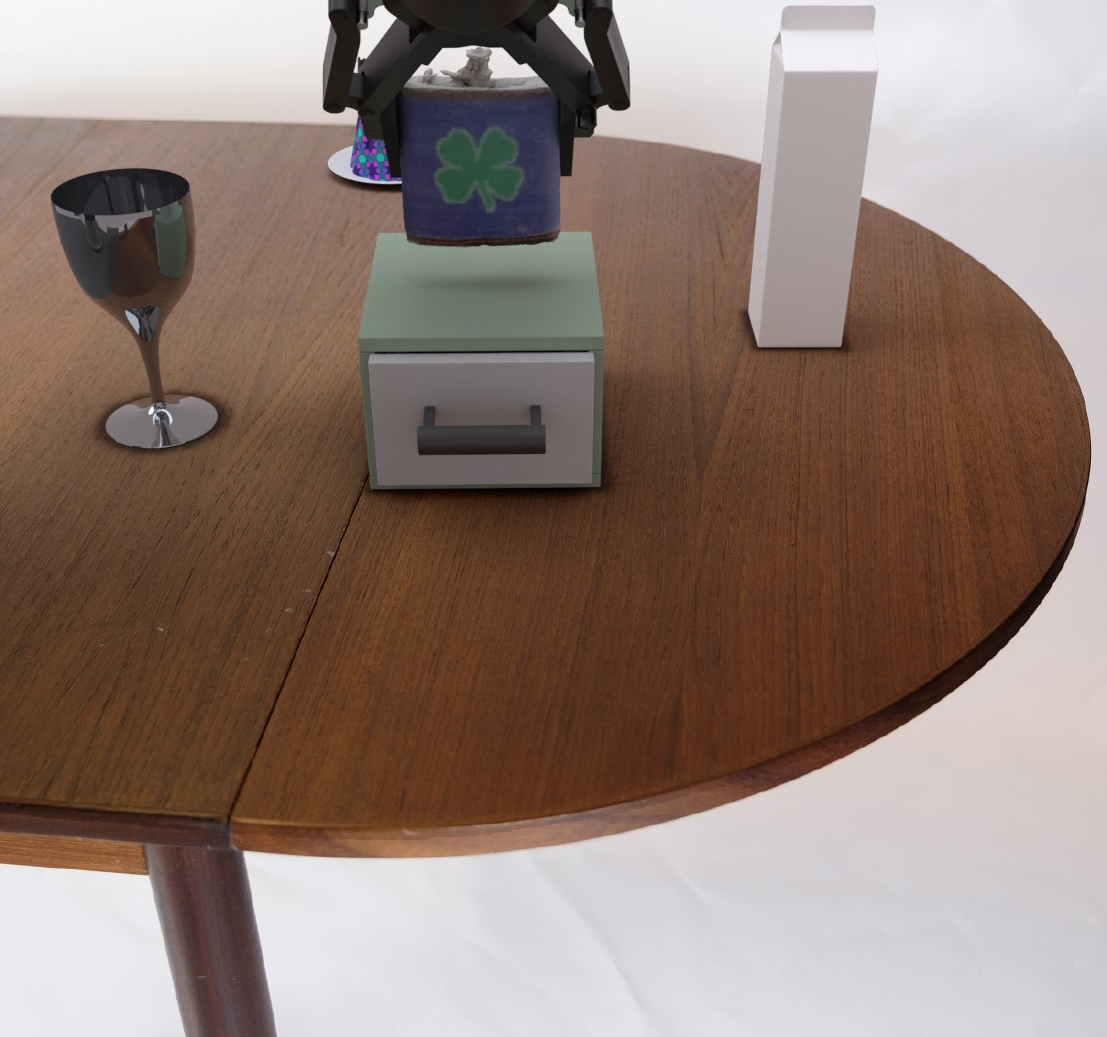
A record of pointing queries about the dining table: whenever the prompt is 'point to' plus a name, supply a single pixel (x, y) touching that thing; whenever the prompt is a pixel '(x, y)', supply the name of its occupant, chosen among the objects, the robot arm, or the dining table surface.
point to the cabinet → (483, 312)
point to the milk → (812, 173)
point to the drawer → (482, 417)
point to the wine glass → (136, 281)
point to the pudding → (363, 160)
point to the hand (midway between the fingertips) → (481, 155)
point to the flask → (479, 157)
